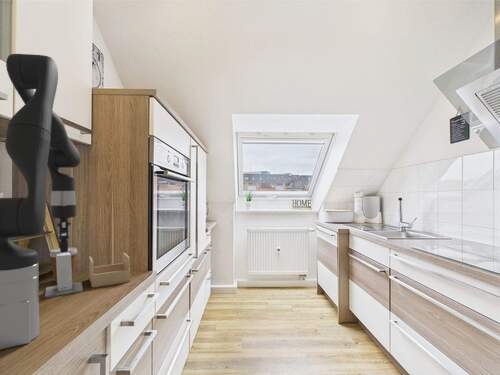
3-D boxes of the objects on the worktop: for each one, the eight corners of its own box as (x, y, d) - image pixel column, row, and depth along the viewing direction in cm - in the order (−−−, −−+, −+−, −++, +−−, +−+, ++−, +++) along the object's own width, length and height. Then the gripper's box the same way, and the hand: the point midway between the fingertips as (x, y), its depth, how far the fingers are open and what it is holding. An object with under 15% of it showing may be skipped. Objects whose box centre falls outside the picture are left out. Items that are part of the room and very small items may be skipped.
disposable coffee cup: (53, 278, 122) (52, 248, 122) (79, 275, 125) (79, 246, 125) (46, 285, 113) (46, 252, 113) (75, 281, 116) (75, 250, 116)
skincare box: (72, 289, 105) (72, 254, 105) (57, 292, 102) (57, 256, 103) (70, 285, 110) (70, 251, 110) (56, 287, 107) (55, 253, 108)
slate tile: (83, 291, 104) (83, 289, 104) (44, 298, 99) (44, 296, 99) (81, 283, 114) (81, 281, 114) (46, 289, 108) (46, 287, 108)
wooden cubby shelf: (130, 281, 115) (130, 257, 115) (92, 287, 108) (91, 262, 109) (124, 273, 126) (124, 252, 126) (89, 278, 120) (89, 256, 120)
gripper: (51, 204, 111) (51, 248, 110) (50, 204, 98) (50, 254, 98) (75, 203, 115) (75, 246, 114) (76, 204, 102) (77, 252, 102)
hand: (64, 250), depth 106 cm, fingers open, 8 cm apart
